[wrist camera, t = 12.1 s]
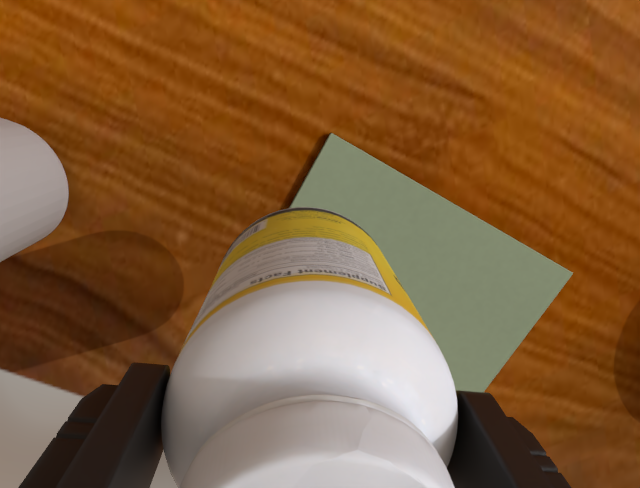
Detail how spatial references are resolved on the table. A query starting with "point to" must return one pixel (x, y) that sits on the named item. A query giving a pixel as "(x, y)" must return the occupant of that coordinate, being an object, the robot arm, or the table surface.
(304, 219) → the pill bottle
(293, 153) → the table surface
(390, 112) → the table surface
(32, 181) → the beverage can
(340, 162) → the mat
